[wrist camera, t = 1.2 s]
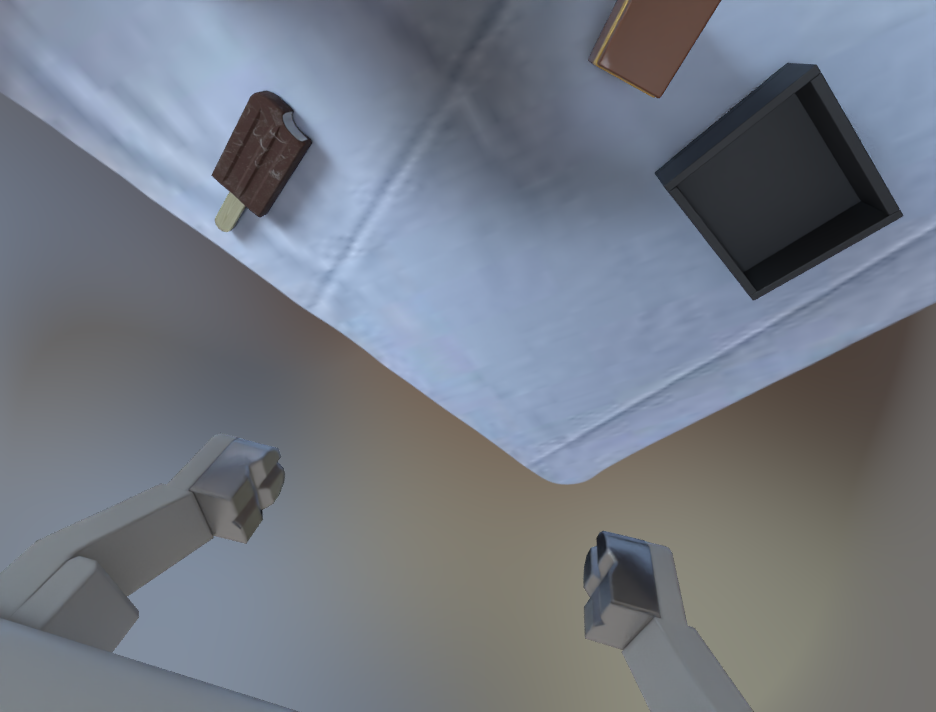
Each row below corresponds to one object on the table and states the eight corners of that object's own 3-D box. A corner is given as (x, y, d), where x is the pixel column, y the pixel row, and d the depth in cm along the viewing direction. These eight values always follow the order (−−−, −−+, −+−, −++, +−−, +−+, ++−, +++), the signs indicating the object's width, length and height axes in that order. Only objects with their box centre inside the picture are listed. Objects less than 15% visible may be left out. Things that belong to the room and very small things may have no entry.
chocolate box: (585, 60, 29) (596, 65, 18) (630, -30, 26) (675, -90, 15) (626, 83, 30) (660, 101, 19) (675, -4, 27) (750, -44, 16)
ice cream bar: (248, 244, 44) (318, 134, 36) (238, 250, 43) (309, 137, 35) (203, 206, 42) (267, 82, 34) (192, 211, 41) (255, 83, 33)
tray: (654, 172, 33) (663, 186, 29) (787, 62, 27) (816, 63, 24) (736, 278, 36) (753, 301, 33) (869, 199, 31) (904, 216, 28)
